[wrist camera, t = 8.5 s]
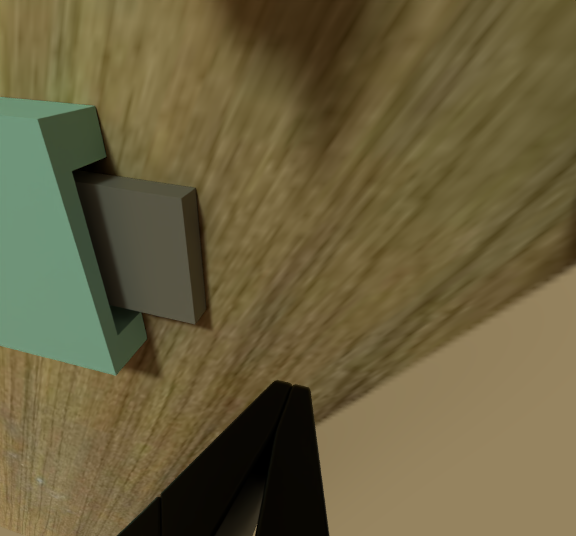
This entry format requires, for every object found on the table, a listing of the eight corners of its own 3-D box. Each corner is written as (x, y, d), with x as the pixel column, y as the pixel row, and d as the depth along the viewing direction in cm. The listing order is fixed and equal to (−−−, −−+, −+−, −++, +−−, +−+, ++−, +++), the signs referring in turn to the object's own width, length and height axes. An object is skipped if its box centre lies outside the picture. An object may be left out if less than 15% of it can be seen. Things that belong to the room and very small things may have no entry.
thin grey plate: (195, 187, 19) (181, 198, 18) (206, 309, 24) (195, 324, 22) (19, 161, 21) (-5, 169, 20) (58, 277, 26) (40, 289, 24)
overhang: (95, 105, 18) (37, 119, 15) (147, 338, 27) (115, 375, 24) (-64, 90, 20) (-141, 100, 17) (30, 311, 29) (-11, 342, 26)
